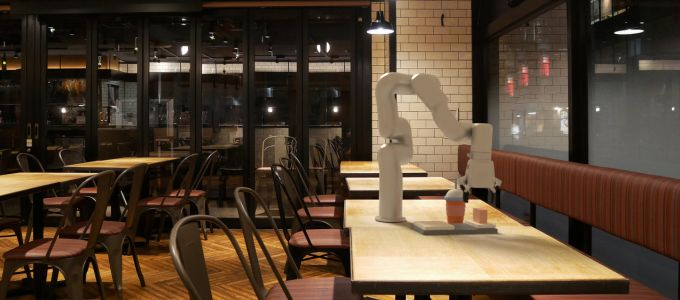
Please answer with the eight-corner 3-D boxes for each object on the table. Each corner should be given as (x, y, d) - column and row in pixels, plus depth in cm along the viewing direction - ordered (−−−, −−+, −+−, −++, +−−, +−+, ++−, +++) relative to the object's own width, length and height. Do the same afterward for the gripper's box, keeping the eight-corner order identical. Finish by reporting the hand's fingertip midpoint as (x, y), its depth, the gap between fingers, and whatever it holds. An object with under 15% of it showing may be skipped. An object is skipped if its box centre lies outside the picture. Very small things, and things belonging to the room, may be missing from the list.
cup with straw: (439, 222, 244) (440, 177, 243) (457, 220, 248) (458, 177, 247) (452, 225, 236) (453, 179, 235) (471, 224, 240) (472, 178, 239)
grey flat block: (410, 228, 227) (410, 221, 227) (480, 226, 233) (480, 219, 233) (423, 234, 213) (423, 227, 213) (497, 233, 218) (497, 225, 218)
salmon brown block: (464, 223, 230) (464, 207, 230) (481, 223, 231) (482, 206, 231) (477, 228, 218) (477, 211, 218) (495, 227, 219) (496, 210, 219)
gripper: (462, 156, 219) (459, 203, 219) (507, 158, 222) (504, 204, 223) (454, 155, 226) (452, 200, 227) (497, 156, 229) (495, 201, 230)
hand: (478, 202), depth 225 cm, fingers open, 9 cm apart
